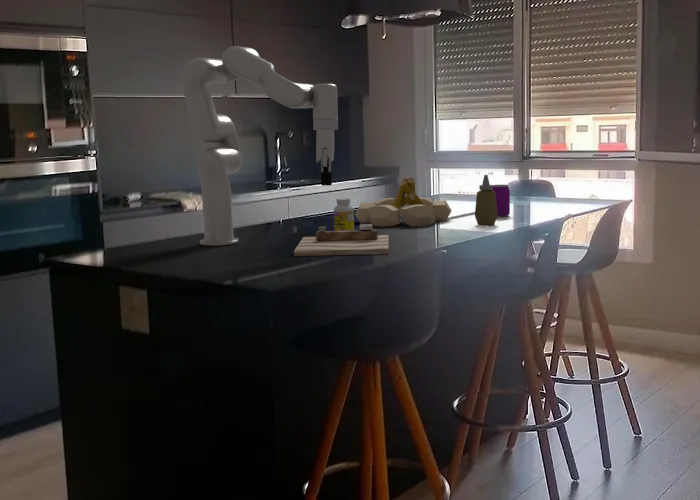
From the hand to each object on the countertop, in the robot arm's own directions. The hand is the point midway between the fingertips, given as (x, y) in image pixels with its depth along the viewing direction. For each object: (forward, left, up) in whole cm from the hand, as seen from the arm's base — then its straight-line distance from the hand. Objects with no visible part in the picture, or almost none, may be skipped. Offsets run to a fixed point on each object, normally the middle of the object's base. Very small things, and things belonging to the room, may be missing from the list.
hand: (326, 184), depth 256 cm
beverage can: (-66, +62, -20) cm, 92 cm away
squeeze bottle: (-42, +54, -20) cm, 71 cm away
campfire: (-59, +24, -20) cm, 67 cm away
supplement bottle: (-23, +4, -20) cm, 31 cm away
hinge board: (0, +5, -20) cm, 20 cm away
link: (-5, +5, -18) cm, 19 cm away
